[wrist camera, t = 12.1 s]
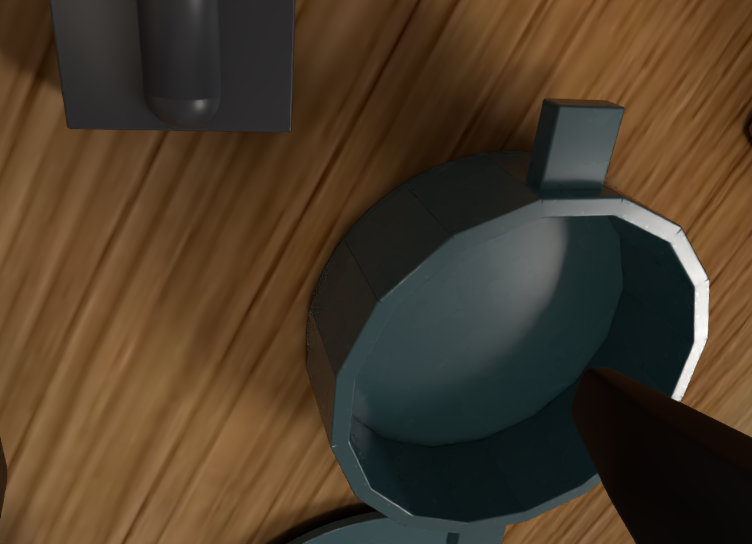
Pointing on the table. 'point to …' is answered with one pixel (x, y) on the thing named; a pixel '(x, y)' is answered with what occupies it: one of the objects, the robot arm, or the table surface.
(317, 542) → the lid
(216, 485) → the table surface
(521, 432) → the pot
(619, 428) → the robot arm
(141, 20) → the dark grey block
